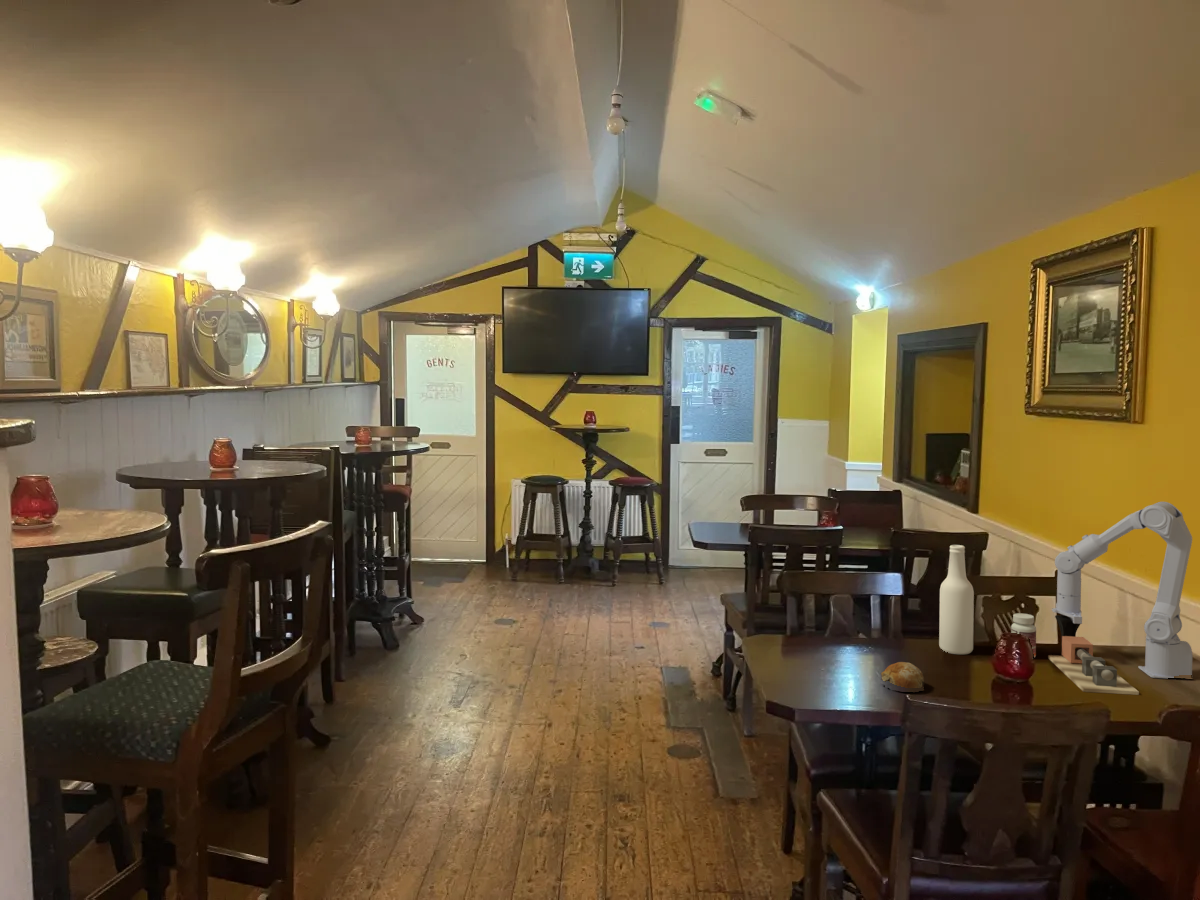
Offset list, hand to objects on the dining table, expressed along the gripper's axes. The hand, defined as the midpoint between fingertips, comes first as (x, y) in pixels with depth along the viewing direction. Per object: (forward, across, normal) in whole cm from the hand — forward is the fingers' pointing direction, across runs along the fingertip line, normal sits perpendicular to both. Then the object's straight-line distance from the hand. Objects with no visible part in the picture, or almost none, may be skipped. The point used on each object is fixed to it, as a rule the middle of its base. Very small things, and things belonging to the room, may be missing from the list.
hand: (1067, 642), depth 222 cm
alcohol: (+4, +1, -29) cm, 29 cm away
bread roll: (+4, +34, -48) cm, 59 cm away
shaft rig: (+4, +16, 0) cm, 17 cm away
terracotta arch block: (+2, +7, 0) cm, 7 cm away
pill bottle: (+4, +2, -12) cm, 13 cm away
